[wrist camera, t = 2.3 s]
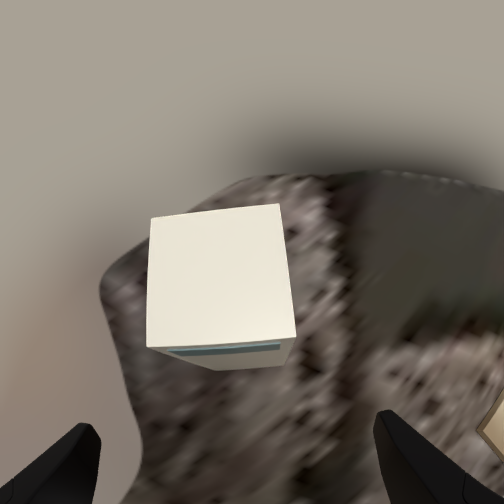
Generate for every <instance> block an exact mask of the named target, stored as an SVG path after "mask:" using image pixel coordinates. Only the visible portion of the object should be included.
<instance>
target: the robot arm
mask: <svg viewBox="0 0 504 504" xmlns="http://www.w3.org/2000/svg"><path fill="white" fill-rule="evenodd" d="M373 434H374V439H375V444H376V449H377V454H378V459H379V464H380V469H381V474H382V477H383V481H384V484H385V487H386V490H387V493H388V496H389V499H390V502H391V504H504V498H503V497H502V496H500V495H498V494H496V493H495V492H493V491H492V490H490V489H488V488H487V487H485V486H484V485H483V484H481V483H480V482H479V481H477V480H476V479H475V478H473V477H472V476H471V475H470V474H468V473H465V471H464V470H463V469H462V468H461V467H459V466H458V465H457V464H456V463H455V462H453V461H452V460H451V459H450V458H448V457H447V456H446V455H445V454H444V453H442V452H441V451H440V450H439V449H437V448H436V447H435V446H434V445H433V444H431V443H430V442H429V441H428V440H427V439H425V438H424V437H423V436H422V435H421V434H419V433H418V432H417V431H416V430H415V429H413V428H412V427H411V426H410V425H409V424H407V423H406V422H405V421H404V420H403V419H402V418H400V417H399V416H398V415H397V414H396V413H394V412H393V411H392V410H384V411H380V412H378V413H377V415H376V419H375V423H374V427H373ZM100 451H101V439H100V437H99V436H98V434H97V432H96V431H95V429H94V428H93V426H92V425H90V424H87V423H78V424H77V425H76V426H75V427H74V428H72V429H71V430H70V431H69V432H68V433H66V434H65V435H64V436H63V437H62V438H60V439H59V440H58V441H57V442H56V443H55V444H53V445H52V446H51V447H50V448H49V449H47V450H46V451H45V452H44V453H43V454H41V455H40V456H39V457H38V458H37V459H36V460H34V461H33V462H32V463H31V464H29V465H28V466H27V467H26V468H24V469H23V470H22V471H21V472H20V473H18V474H17V475H16V476H15V477H14V479H11V480H10V481H9V482H7V483H6V484H5V485H3V486H2V487H1V488H0V504H92V501H93V496H94V491H95V487H96V482H97V476H98V467H99V459H100Z"/></svg>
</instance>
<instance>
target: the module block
mask: <svg viewBox="0 0 504 504" xmlns="http://www.w3.org/2000/svg"><path fill="white" fill-rule="evenodd" d="M295 339H296V330H295V321H294V313H293V304H292V296H291V288H290V280H289V272H288V264H287V257H286V249H285V242H284V235H283V227H282V220H281V213H280V206H279V204H269V205H259V206H249V207H240V208H231V209H222V210H213V211H204V212H196V213H188V214H180V215H172V216H164V217H158V218H152V219H151V231H150V245H149V261H148V283H147V347H148V348H151V349H154V350H156V351H159V352H162V353H164V354H167V355H170V356H173V357H176V358H178V359H181V360H184V361H187V362H190V363H193V364H196V365H199V366H202V367H205V368H208V369H212V370H215V371H221V370H237V369H251V368H263V367H273V366H283V365H285V362H286V360H287V358H288V355H289V353H290V351H291V348H292V346H293V344H294V341H295Z"/></svg>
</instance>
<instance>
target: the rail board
mask: <svg viewBox="0 0 504 504" xmlns="http://www.w3.org/2000/svg"><path fill="white" fill-rule="evenodd" d="M476 431H477V432H478V433H479V434H480V435H481V437H482V438H483V439H484V440H485V441H486V442H487V444H488V445H489V446H490V447H491V448H492V449H493V451H494V452H495V453H496V454H497V455H498V457H499V458H500V459H501V460H502V461H503V463H504V389H503V391H502V392H501V394H500V395H499V397H498V399H497V400H496V402H495V403H494V405H493V406H492V408H491V409H490V411H489V412H488V414H487V415H486V417H485V418H484V420H483V421H482V422H481V424H480V425H479V427H478V428H477V429H476Z"/></svg>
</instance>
